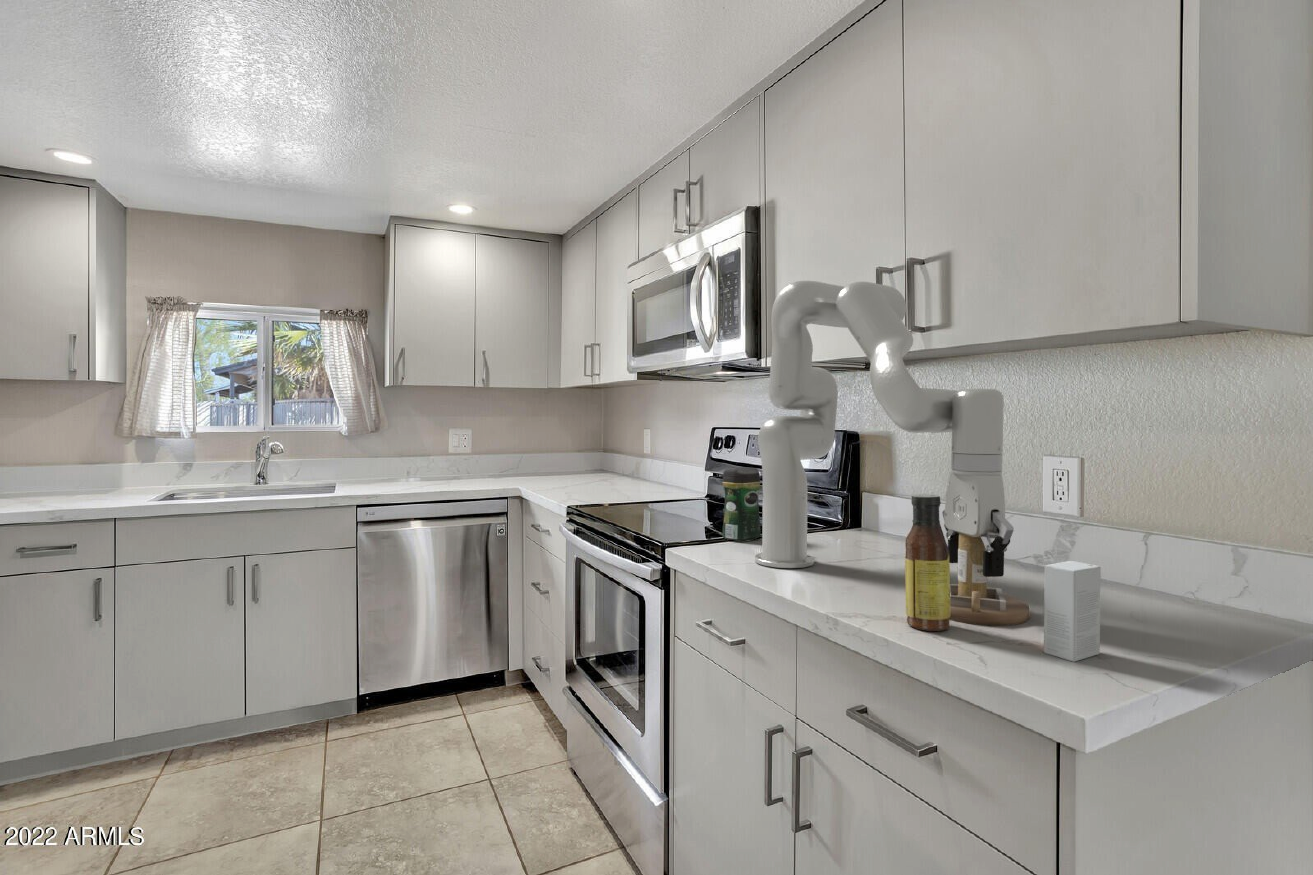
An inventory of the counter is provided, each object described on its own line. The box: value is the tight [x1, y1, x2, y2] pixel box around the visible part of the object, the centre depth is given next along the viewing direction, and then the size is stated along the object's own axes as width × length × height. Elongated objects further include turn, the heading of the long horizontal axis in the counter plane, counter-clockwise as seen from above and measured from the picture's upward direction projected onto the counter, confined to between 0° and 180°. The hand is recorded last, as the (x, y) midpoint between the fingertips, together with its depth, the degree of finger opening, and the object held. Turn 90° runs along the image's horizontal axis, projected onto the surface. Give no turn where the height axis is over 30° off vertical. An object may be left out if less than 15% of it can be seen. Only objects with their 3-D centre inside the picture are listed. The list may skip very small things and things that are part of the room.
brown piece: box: [950, 583, 1031, 627], centre depth 109 cm, size 16×16×4 cm
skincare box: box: [1043, 560, 1102, 663], centre depth 89 cm, size 6×4×12 cm
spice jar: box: [957, 533, 988, 599], centre depth 109 cm, size 5×5×13 cm
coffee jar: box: [722, 466, 762, 542], centre depth 172 cm, size 10×8×19 cm
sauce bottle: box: [904, 493, 951, 632], centre depth 101 cm, size 7×6×20 cm
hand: (974, 569), depth 109 cm, fingers open, 9 cm apart
